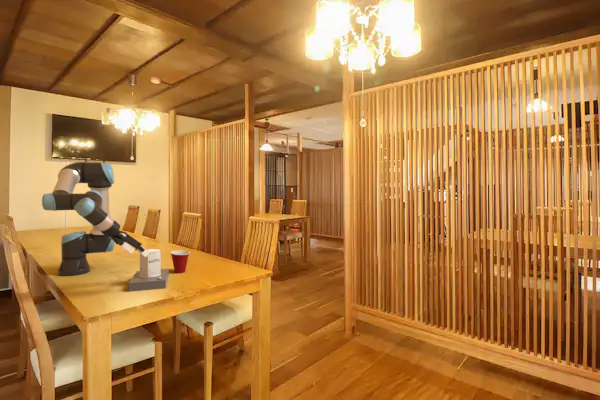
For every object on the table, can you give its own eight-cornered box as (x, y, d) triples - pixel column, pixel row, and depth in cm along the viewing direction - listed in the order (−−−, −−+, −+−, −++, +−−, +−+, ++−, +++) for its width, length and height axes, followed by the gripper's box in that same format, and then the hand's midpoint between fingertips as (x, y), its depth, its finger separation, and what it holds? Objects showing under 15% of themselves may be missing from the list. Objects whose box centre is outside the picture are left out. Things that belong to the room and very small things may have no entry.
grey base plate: (136, 278, 175) (136, 269, 174) (168, 275, 180) (168, 267, 180) (128, 291, 152) (128, 280, 152) (165, 288, 157) (165, 278, 157)
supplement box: (147, 277, 160) (147, 251, 160) (139, 275, 164) (139, 250, 164) (161, 274, 166) (161, 249, 166) (152, 272, 171) (152, 248, 170)
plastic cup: (183, 275, 182) (183, 253, 182) (166, 273, 184) (166, 253, 184) (193, 270, 192) (193, 250, 192) (177, 269, 195) (177, 249, 194)
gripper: (88, 230, 153) (121, 256, 165) (114, 234, 138) (148, 262, 151) (100, 218, 157) (131, 244, 170) (127, 221, 143) (159, 249, 155)
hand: (139, 253), depth 160 cm, fingers open, 13 cm apart
